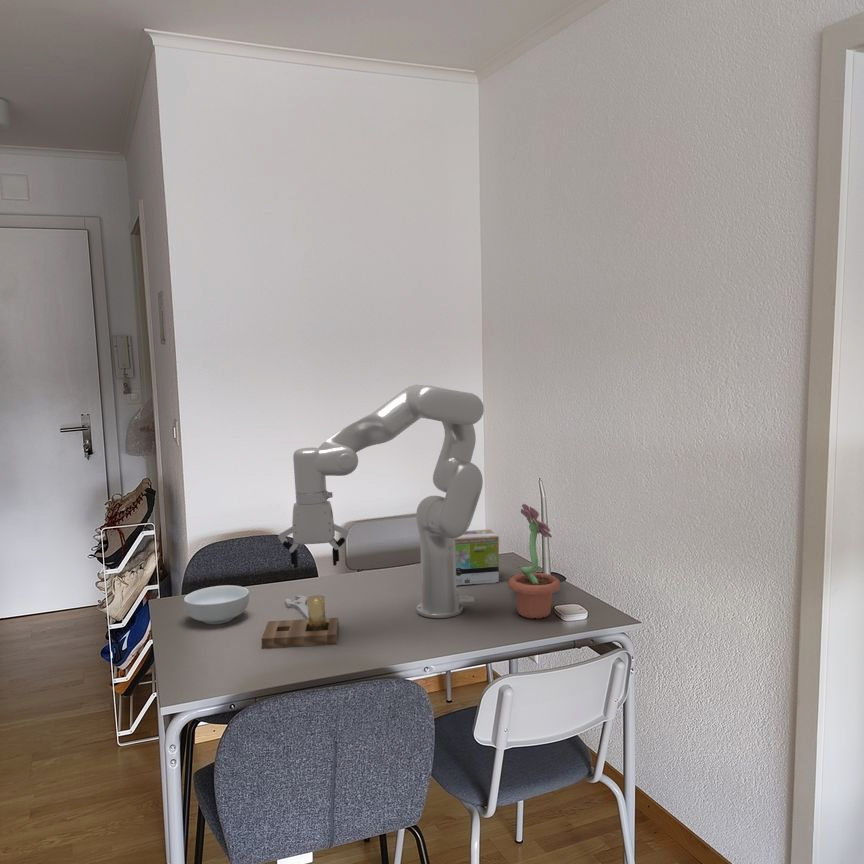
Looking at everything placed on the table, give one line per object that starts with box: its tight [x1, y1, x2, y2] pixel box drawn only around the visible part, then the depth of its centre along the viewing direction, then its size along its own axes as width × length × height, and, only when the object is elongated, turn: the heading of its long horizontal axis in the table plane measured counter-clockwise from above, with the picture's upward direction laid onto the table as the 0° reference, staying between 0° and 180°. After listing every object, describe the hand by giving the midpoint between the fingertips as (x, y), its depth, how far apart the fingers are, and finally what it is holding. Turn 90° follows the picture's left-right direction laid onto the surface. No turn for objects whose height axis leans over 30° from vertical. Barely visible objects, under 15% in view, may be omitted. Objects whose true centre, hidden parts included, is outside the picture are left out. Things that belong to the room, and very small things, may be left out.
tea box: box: [454, 529, 500, 586], centre depth 237 cm, size 15×10×15 cm, turn 102°
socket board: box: [261, 617, 340, 649], centre depth 195 cm, size 18×12×2 cm, turn 94°
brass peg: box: [307, 594, 327, 631], centre depth 195 cm, size 4×4×10 cm
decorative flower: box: [507, 503, 562, 619], centre depth 205 cm, size 15×14×30 cm
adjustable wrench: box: [285, 595, 309, 619], centre depth 212 cm, size 25×6×2 cm, turn 21°
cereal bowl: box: [183, 584, 250, 625], centre depth 210 cm, size 17×17×7 cm
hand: (315, 565), depth 194 cm, fingers open, 9 cm apart
